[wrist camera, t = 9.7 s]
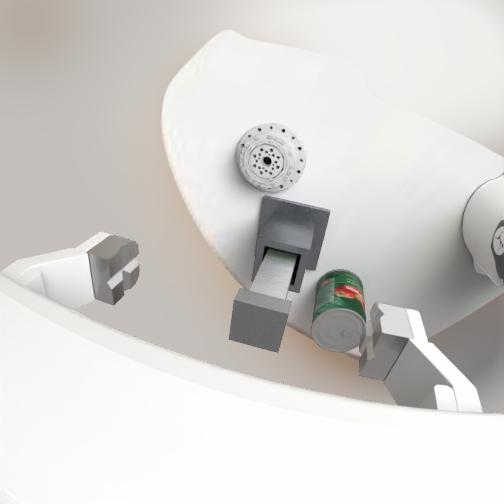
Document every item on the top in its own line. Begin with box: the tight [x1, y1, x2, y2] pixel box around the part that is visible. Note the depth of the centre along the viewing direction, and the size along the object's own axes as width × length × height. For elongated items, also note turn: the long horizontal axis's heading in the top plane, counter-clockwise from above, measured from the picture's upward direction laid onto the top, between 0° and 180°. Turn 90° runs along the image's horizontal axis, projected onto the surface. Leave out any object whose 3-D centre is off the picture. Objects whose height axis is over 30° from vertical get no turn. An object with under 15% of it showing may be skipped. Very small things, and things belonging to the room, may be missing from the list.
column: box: [229, 247, 298, 352], centre depth 36 cm, size 5×5×17 cm
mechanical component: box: [237, 124, 306, 192], centre depth 43 cm, size 10×4×10 cm
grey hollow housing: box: [252, 195, 330, 293], centre depth 44 cm, size 10×10×12 cm
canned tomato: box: [311, 269, 366, 352], centre depth 47 cm, size 8×8×11 cm
